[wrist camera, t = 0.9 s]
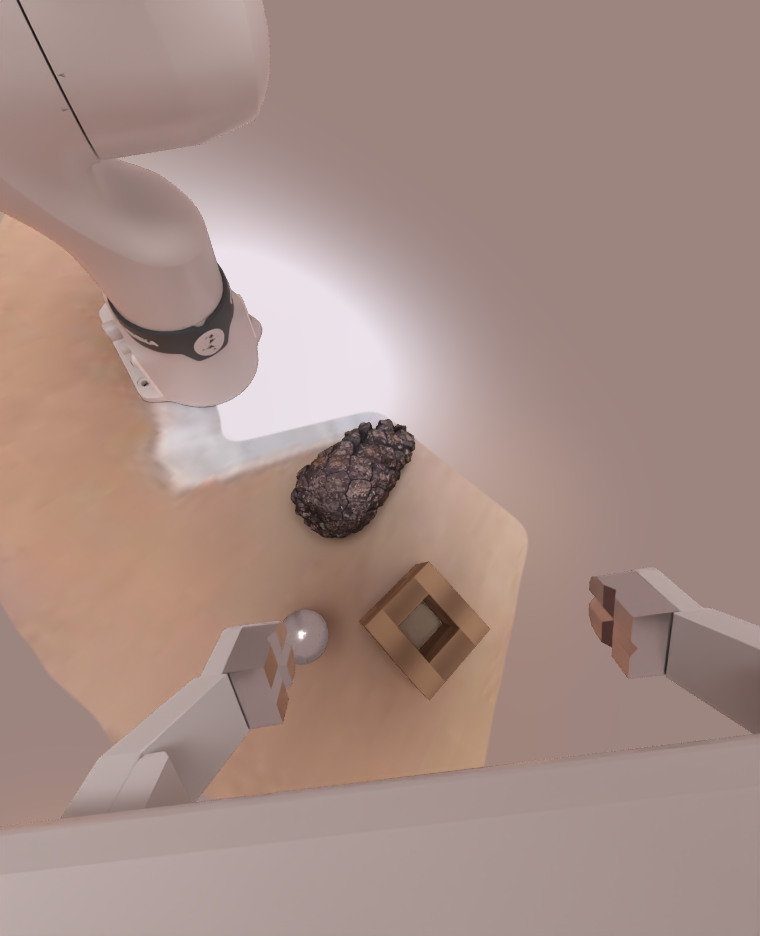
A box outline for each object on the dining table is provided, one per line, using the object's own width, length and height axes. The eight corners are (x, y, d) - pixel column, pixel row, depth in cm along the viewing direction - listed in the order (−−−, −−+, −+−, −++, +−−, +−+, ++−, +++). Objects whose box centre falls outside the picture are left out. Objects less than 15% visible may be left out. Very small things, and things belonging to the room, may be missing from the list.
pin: (276, 625, 46) (266, 635, 36) (308, 596, 47) (306, 598, 38) (303, 657, 45) (299, 676, 36) (334, 626, 47) (338, 637, 37)
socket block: (359, 621, 47) (365, 626, 42) (416, 564, 50) (429, 561, 45) (415, 686, 46) (429, 700, 41) (470, 624, 49) (490, 629, 44)
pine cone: (419, 452, 55) (440, 425, 46) (344, 558, 49) (351, 551, 40) (359, 410, 56) (368, 374, 46) (279, 510, 50) (270, 492, 40)
